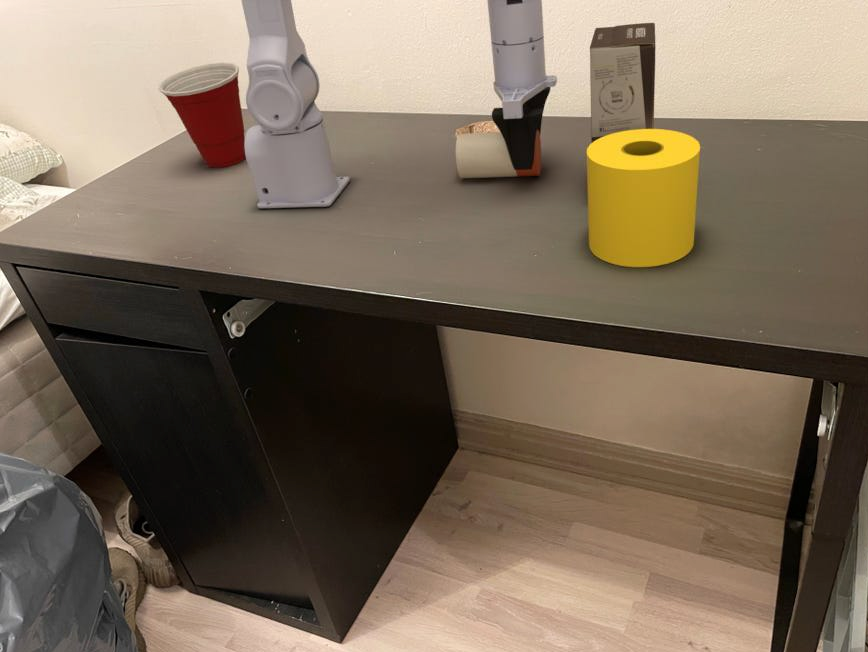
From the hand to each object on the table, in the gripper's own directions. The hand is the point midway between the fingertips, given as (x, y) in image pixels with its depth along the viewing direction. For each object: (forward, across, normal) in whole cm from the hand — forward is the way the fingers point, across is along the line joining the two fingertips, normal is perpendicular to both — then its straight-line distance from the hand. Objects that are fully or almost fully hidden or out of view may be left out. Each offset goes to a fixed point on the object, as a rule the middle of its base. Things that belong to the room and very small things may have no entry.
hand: (526, 159), depth 88 cm
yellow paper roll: (+2, -18, -13) cm, 22 cm away
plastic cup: (+2, +9, +45) cm, 46 cm away
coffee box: (+2, -4, -11) cm, 12 cm away
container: (-1, 0, +8) cm, 8 cm away
